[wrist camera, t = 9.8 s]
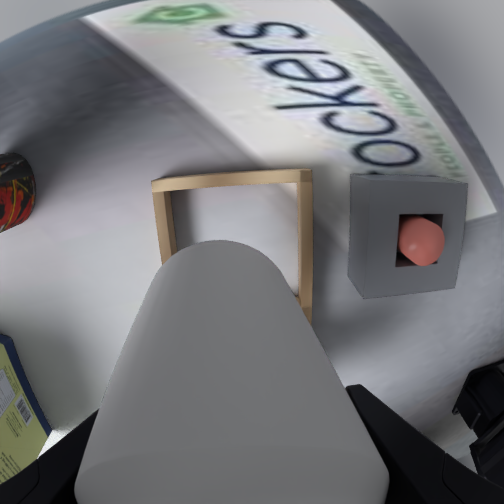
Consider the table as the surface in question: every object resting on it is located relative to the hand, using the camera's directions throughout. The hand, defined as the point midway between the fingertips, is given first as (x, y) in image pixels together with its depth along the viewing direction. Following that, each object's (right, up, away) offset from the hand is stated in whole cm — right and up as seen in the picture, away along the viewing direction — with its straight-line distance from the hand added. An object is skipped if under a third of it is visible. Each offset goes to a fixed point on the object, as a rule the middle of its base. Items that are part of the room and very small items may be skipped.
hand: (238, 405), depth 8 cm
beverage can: (-1, +2, +7) cm, 7 cm away
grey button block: (+10, +6, +12) cm, 17 cm away
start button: (+10, +5, +11) cm, 16 cm away
